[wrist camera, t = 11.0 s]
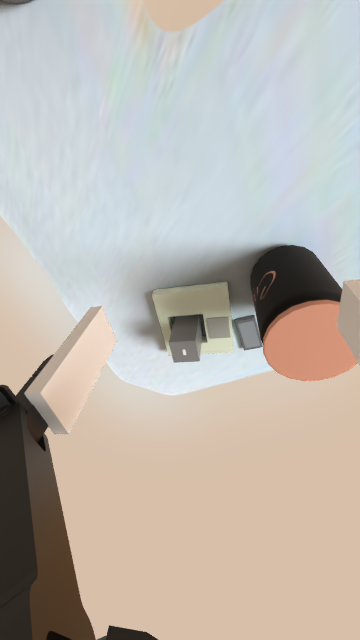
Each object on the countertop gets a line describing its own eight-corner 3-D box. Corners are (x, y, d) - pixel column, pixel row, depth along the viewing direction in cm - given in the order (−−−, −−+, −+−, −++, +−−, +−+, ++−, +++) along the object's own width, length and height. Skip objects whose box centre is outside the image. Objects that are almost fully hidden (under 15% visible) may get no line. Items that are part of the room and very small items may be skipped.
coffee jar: (254, 241, 41) (272, 300, 26) (328, 243, 39) (391, 306, 25) (245, 301, 47) (256, 377, 32) (309, 305, 45) (350, 385, 31)
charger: (175, 315, 50) (168, 342, 44) (199, 313, 49) (195, 340, 43) (180, 334, 53) (173, 362, 46) (202, 332, 52) (199, 361, 45)
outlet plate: (154, 289, 48) (151, 295, 46) (227, 281, 45) (227, 287, 43) (170, 349, 55) (168, 356, 53) (234, 345, 52) (234, 352, 51)
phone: (235, 319, 49) (235, 322, 48) (254, 315, 48) (254, 317, 47) (244, 347, 52) (244, 350, 52) (262, 344, 51) (262, 347, 51)
